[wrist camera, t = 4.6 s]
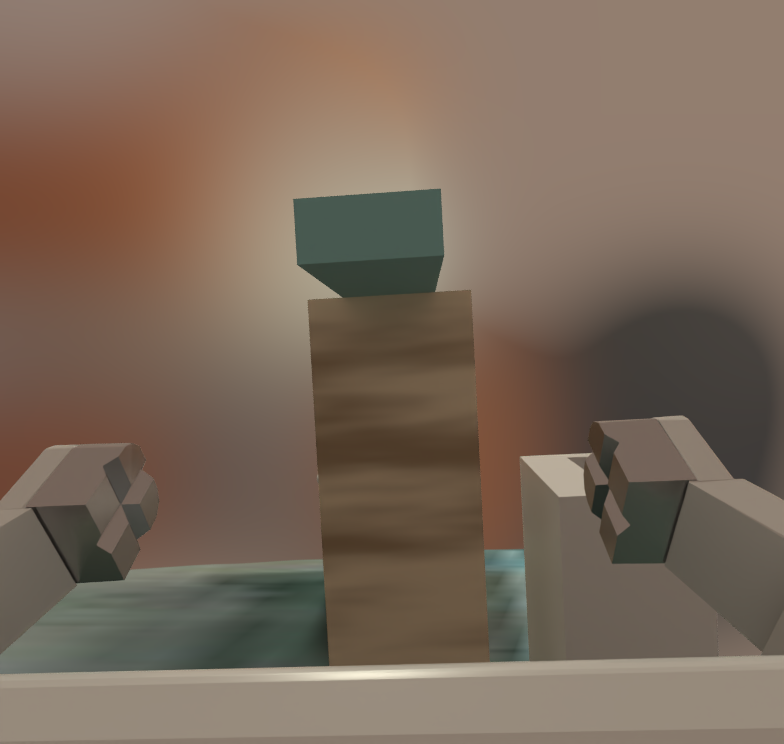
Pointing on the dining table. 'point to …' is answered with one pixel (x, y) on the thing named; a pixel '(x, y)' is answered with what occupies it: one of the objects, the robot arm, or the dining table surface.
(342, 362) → the birch stand
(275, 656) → the dining table surface
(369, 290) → the teal board
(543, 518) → the grey slot box
